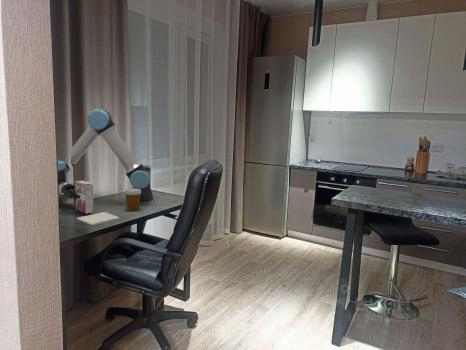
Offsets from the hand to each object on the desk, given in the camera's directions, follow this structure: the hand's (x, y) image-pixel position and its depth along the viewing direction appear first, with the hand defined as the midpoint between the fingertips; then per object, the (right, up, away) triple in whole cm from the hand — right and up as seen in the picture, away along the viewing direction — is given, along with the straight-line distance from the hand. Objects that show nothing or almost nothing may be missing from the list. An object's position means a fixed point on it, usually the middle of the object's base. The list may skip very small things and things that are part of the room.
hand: (89, 197), depth 179 cm
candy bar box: (-4, -8, +5) cm, 11 cm away
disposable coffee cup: (+19, -9, +17) cm, 27 cm away
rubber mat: (+7, -11, -3) cm, 14 cm away
